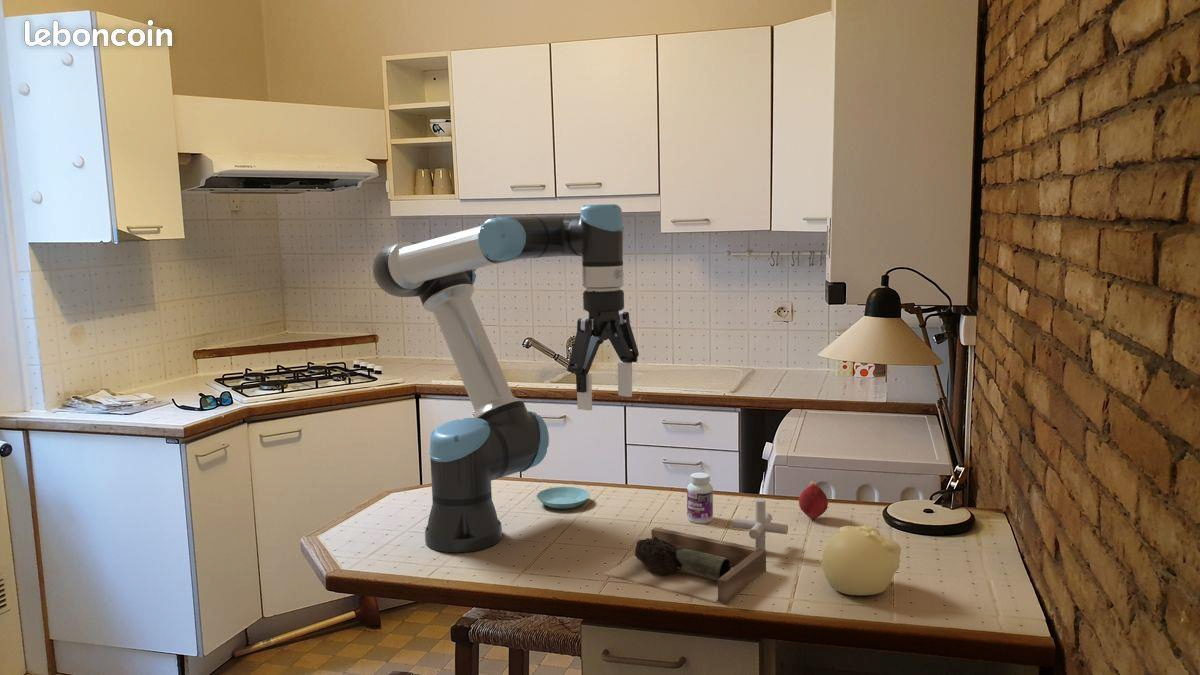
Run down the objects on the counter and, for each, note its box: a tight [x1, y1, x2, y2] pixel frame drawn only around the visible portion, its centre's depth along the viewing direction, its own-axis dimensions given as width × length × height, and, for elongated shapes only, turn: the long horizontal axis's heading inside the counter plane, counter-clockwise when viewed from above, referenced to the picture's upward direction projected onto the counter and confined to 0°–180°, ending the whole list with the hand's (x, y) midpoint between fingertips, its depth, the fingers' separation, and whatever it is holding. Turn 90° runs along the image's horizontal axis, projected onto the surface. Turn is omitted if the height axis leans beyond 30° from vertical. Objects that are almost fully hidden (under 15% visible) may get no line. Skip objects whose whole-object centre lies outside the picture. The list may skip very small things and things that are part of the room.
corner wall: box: [650, 527, 767, 605], centre depth 159 cm, size 23×16×4 cm
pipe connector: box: [732, 498, 789, 550], centre depth 168 cm, size 10×10×10 cm
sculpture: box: [821, 525, 902, 596], centre depth 151 cm, size 11×12×11 cm
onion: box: [798, 481, 829, 520], centre depth 185 cm, size 6×6×8 cm
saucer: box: [535, 486, 591, 510], centre depth 199 cm, size 12×12×2 cm
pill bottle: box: [686, 472, 714, 524], centre depth 187 cm, size 5×5×10 cm
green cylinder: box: [634, 537, 732, 581], centre depth 158 cm, size 18×7×6 cm, turn 57°
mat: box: [603, 554, 718, 604], centre depth 158 cm, size 22×11×1 cm, turn 56°
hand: (605, 402), depth 168 cm, fingers open, 13 cm apart
